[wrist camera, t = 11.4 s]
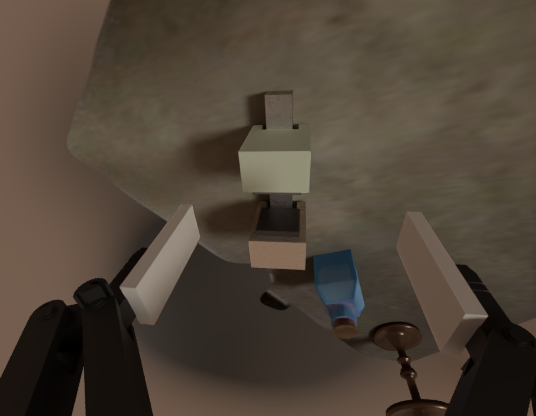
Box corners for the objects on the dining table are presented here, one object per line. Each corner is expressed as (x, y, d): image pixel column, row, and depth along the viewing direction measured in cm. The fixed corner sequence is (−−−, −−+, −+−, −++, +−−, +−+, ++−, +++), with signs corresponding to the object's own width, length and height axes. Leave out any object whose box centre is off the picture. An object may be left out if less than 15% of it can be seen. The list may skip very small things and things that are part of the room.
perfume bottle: (350, 249, 42) (365, 315, 32) (357, 274, 44) (373, 342, 35) (313, 256, 43) (316, 321, 33) (322, 280, 46) (327, 346, 36)
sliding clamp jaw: (253, 125, 32) (238, 151, 24) (308, 124, 31) (310, 151, 23) (256, 164, 34) (243, 198, 27) (307, 164, 34) (308, 199, 26)
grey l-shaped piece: (251, 91, 30) (233, 110, 22) (309, 89, 29) (312, 108, 21) (262, 236, 42) (253, 282, 34) (303, 238, 41) (304, 284, 33)
